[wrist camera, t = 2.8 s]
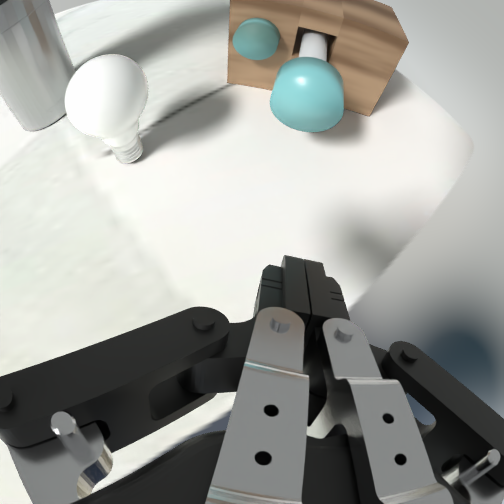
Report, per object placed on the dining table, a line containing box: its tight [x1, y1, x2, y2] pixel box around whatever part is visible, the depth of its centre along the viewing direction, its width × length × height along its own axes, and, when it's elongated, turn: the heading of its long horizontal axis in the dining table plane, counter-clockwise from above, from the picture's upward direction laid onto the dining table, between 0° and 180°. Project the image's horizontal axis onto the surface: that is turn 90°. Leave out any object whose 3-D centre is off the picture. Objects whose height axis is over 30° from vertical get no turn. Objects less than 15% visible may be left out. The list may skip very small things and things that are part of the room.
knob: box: [270, 28, 344, 132], centre depth 21 cm, size 15×5×5 cm, turn 169°
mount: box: [227, 0, 409, 116], centre depth 24 cm, size 12×16×11 cm
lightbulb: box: [65, 54, 148, 163], centre depth 19 cm, size 6×6×11 cm
